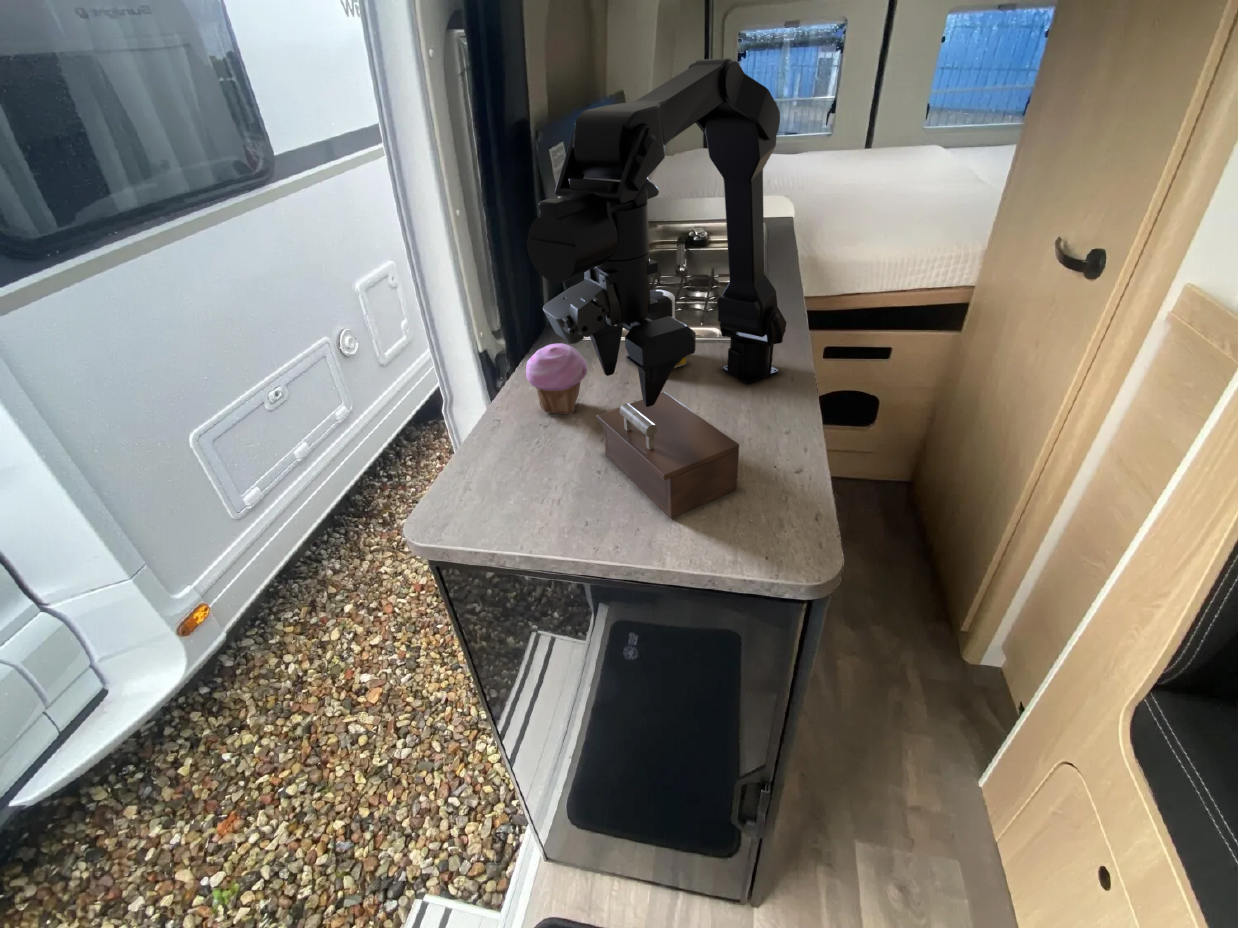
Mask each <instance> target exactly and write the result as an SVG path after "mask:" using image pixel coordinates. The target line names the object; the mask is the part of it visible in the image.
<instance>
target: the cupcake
mask: <svg viewBox="0 0 1238 928" xmlns="http://www.w3.org/2000/svg"><path fill="white" fill-rule="evenodd" d="M525 366H526V367H525V376H526V379H527V381H528V382H529V384H531V386H532V387H534V388H535V389H536V392H537V397H538V401H539V402H538V403H539V405H540V408H541V410H543V412H545V413H549V414H563V415H572V414H573V413H574V412H575V407H576V403H577V400H578V397H579V394H580V389H581V381H582V380H584V378H586V376H587V374H588V366H587V362H586V360H585V359H584V357H583V355H582V354H581V353H580V352H579V351H578V350H577V349H576V348H575V347H573V346H572V345H570V344H567V343H560V342H559V343H551V344H548V345H545V346H544V347H541V348H539V349H538V350H536V351H535V352H534V354H532V355H531V357H530V358H529V359H528V360H527V362H526V365H525Z"/></svg>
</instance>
